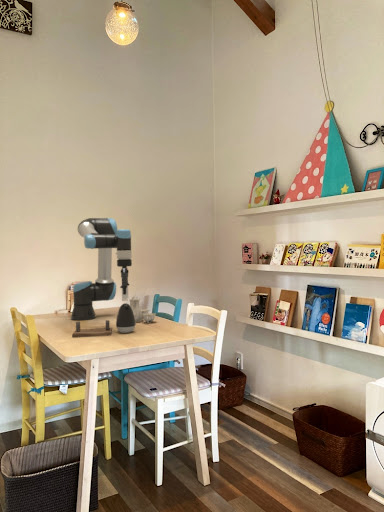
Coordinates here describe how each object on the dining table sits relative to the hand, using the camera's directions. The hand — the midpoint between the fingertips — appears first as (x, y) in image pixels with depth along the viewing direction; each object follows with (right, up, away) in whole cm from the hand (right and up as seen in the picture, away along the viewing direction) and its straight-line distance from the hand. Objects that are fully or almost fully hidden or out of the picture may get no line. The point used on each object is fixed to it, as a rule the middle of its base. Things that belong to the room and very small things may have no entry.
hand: (125, 299), depth 211 cm
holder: (-17, -18, -2) cm, 24 cm away
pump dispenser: (0, -18, 0) cm, 18 cm away
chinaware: (+3, -17, +34) cm, 38 cm away
